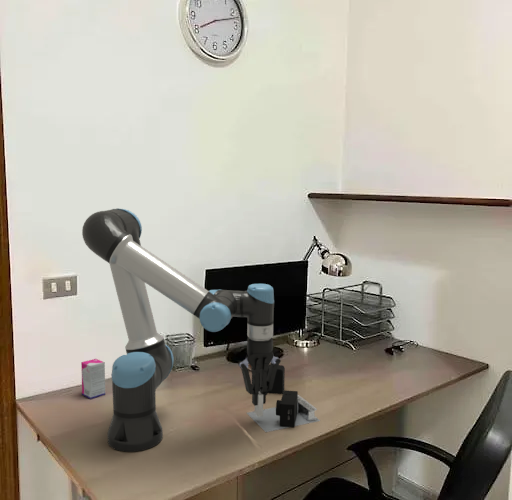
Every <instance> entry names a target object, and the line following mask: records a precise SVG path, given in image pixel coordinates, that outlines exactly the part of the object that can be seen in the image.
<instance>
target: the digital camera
mask: <svg viewBox="0 0 512 500" xmlns="http://www.w3.org/2000/svg"><path fill="white" fill-rule="evenodd" d="M281 395H282V397H281V399H277V400H276V404H275V407H276V415H277V416H280V426H283V427H289V428H295V427H296V426H295V421H296V417H297V405H298V395H299V391H296V390H285V389H284V392H283V394H281Z"/></svg>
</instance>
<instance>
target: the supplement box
mask: <svg viewBox="0 0 512 500" xmlns="http://www.w3.org/2000/svg"><path fill="white" fill-rule="evenodd" d="M105 367H106V365H105V362H104V361H102V360H100V359H97V358H93V359H89V360H85V361H82V362H81V396H83V395H84V397H86V398H88V399H89V400H93V399H95V398H99V397H102V396H105V395H106V370H105V369H106V368H105Z"/></svg>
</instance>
